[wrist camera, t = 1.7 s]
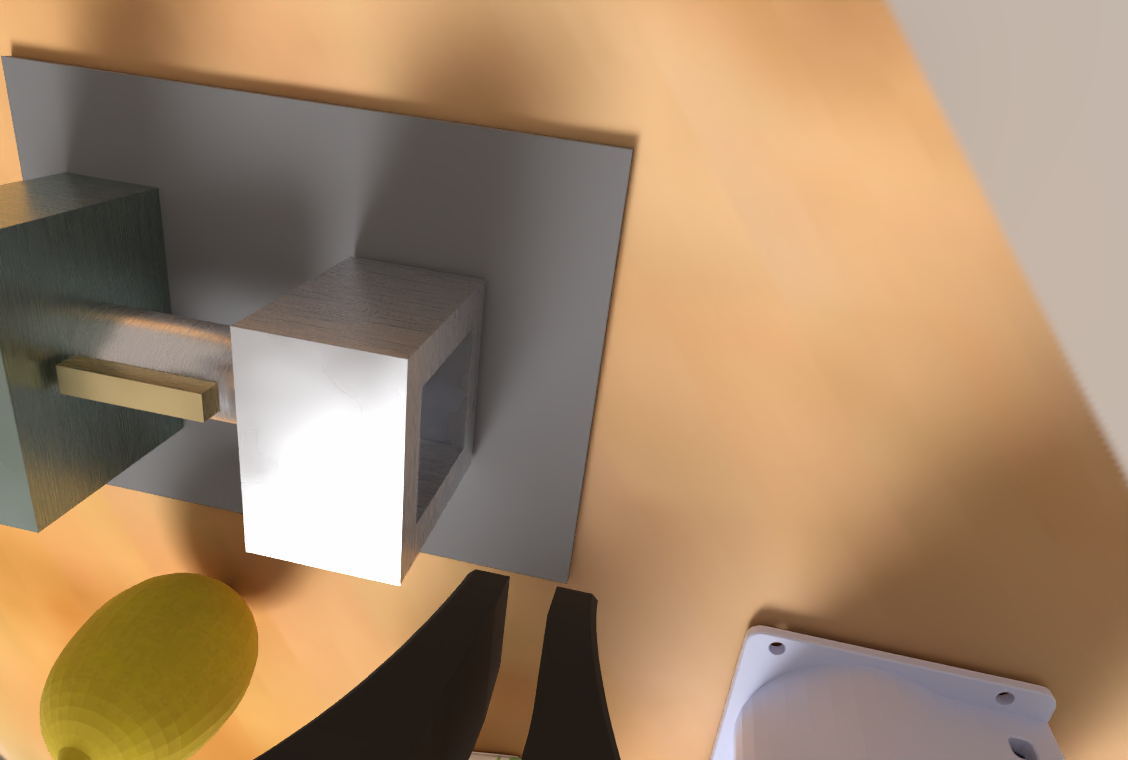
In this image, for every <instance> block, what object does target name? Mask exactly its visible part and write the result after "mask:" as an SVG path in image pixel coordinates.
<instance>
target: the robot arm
mask: <svg viewBox="0 0 1128 760" xmlns="http://www.w3.org/2000/svg"><path fill="white" fill-rule="evenodd" d="M509 579H510V577H509V576H504V575H500V574H495V573H490V572H485V571H481V570H474V571H472V572H470V573H469V574H468V575H467V576H466V578H465V579H464V580H463V581H462V583H461V584H460V585H459V586H458V587H457V588H456V590H455V591H454V592H453V593H452V594H451V595H450V597H449V598H448V599H447V600H446V601H445V602H444V603H443V604H442V606H441V607H440V608H439V609H438V610H437V611H436V612H435V613H434V614H433V615H432V616H431V617H430V618H429V619H428V621H427V622H426V623H425V624H424V625H423V626H421V627H420V628H419V629H418V630H417V631H416V632H415V633H414V634H413V635H412V636H411V637H410V638H409V639H408V640H407V641H406V642H405V643H404V644H403V645H402V646H401V647H400V648H399V649H398V650H397V651H396V652H395V653H394V654H393V655H392V656H391V657H389V658H388V659H387V660H386V661H385V662H384V663H383V664H382V665H380V666H379V667H378V668H377V669H376V670H375V671H374V672H373V673H371V674H370V675H369V676H368V677H367V678H366V679H365V680H363V681H362V682H361V683H360V684H359V685H358V686H356V687H355V688H354V689H353V690H351V691H350V692H349V693H348V694H347V695H345V696H344V697H343V698H341V699H340V700H339V701H338V702H336V703H335V704H334V705H332V706H331V707H330V708H328V709H327V710H326V711H324V712H323V713H322V714H320V715H319V716H318V717H316V718H315V719H314V720H312V721H311V722H310V723H308V724H307V725H305V726H304V727H302V728H301V729H299V730H298V731H296V732H295V733H293V734H292V735H290V736H289V737H288V738H286V739H285V740H283V741H282V742H280V743H279V744H277V745H276V746H274V747H273V748H271V749H270V750H268V751H266V752H265V753H263V754H262V755H260V756H258V757H257V758H255V759H254V760H469V758H470V756H471V753H472V751H473V748H474V746H475V743H476V741H477V738H478V736H479V733H480V731H481V728H482V725H483V723H484V720H485V717H486V713H487V710H488V706H489V703H490V699H491V696H492V692H493V689H494V685H495V681H496V678H497V674H498V671H499V667H500V662H501V652H502V643H503V634H504V625H505V615H506V606H507V597H508V588H509ZM597 602H598V601H597V599H596V598H595V597H594V595H593V594H590V593H585V592H581V591H576V590H571V589H566V588H562V587H557V588H556V591H555V594H554V597H553V600H552V603H551V606H550V609H549V612H548V615H547V622H546V629H545V635H544V642H543V649H542V656H541V663H540V670H539V676H538V683H537V690H536V697H535V704H534V710H533V715H532V720H531V725H530V730H529V734H528V737H527V741H526V745H525V748H524V752H523V755H522V759H521V760H621V759H620V756H619V752H618V748H617V745H616V741H615V737H614V733H613V729H612V725H611V721H610V717H609V712H608V708H607V703H606V698H605V692H604V687H603V681H602V676H601V670H600V663H599V656H598V646H597V633H596V610H597ZM774 642H780V643H782V645H780V646H773V645H771V643H774ZM1002 692H1008V693H1007V694H1005V695H998V694H1000V693H1002ZM1056 704H1057V703H1056V701H1055V698H1054V696H1053V694H1052V692H1051V691H1050V690H1049V689H1048V688H1046V687H1043V686H1041V685H1036V684H1031V683H1027V682H1022V681H1017V680H1013V679H1008V678H1004V677H999V676H994V675H990V674H985V673H980V672H976V671H971V670H967V669H962V668H957V667H953V666H948V665H944V664H939V663H934V662H930V661H925V660H920V659H916V658H911V657H907V656H902V655H897V654H893V653H888V652H884V651H879V650H874V649H870V648H865V647H860V646H856V645H851V644H847V643H842V642H837V641H833V640H828V639H824V638H819V637H814V636H810V635H805V634H800V633H796V632H791V631H787V630H782V629H777V628H773V627H768V626H762V625H757V626H753V627H751V628H750V629H748V630H747V632H746V634H745V637H744V640H743V644H742V647H741V651H740V654H739V658H738V661H737V665H736V668H735V672H734V675H733V679H732V682H731V686H730V689H729V693H728V696H727V700H726V703H725V707H724V710H723V714H722V717H721V721H720V724H719V728H718V732H717V735H716V739H715V742H714V746H713V749H712V753H711V756H710V760H1066V759H1065V757H1064V755H1063V753H1062V751H1061V749H1060V747H1059V745H1058V743H1057V741H1056V739H1055V737H1054V735H1053V733H1052V730H1051V728H1050V726H1049V724H1048V722H1049V720H1050V718H1051V716H1052V714H1053V712H1054V711H1055V709H1056Z"/></svg>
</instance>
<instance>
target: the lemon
mask: <svg viewBox="0 0 1128 760" xmlns="http://www.w3.org/2000/svg"><path fill="white" fill-rule="evenodd" d="M257 657H258V632H257V627H256V624H255V621H254V617H253V615H252V612H251V610H250V609H249V607H248V605H247V604H246V602H245V601H244V600H243V598H242V597H241V596H240V595H239V594H238V593H237V592H236V591H235V590H233V589H232V588H231V587H229V586H228V585H227V584H225V583H223V582H221V581H219V580H217V579H215V578H212V577H209V576H205V575H201V574H194V573H174V574H167V575H162V576H157V577H153V578H150V579H148V580H145V581H143V582H141V583H139V584H137V585H135V586H133V587H131V588H129V589H127V590H125V591H123V592H121V593H120V594H118V595H117V596H115V597H114V598H112V599H111V600H110V601H108V602H107V603H105V604H104V605H103V606H102V607H101V608H100V609H99V610H97V611H96V612H95V613H94V614H93V615H92V616H91V617H90V618H89V619H88V620H87V622H86V623H85V624H84V625H83V626H82V627H81V628H80V629H79V630H78V632H77V633H76V634H75V635H74V636H73V637H72V639H71V640H70V641H69V643H68V644H67V645H66V647H65V648H64V649H63V651H62V652H61V654H60V656H59V657H58V659H57V660H56V662H55V664H54V666H53V667H52V669H51V671H50V674H49V676H48V678H47V681H46V684H45V687H44V690H43V693H42V697H41V701H40V725H41V732H42V735H43V738H44V741H45V744H46V746H47V749H48V751H49V752H50V754H51V756H52V757H53V758H54V760H187V759H188V758H189V757H191V756H192V755H193V754H194V753H196V752H197V751H198V750H199V749H200V748H202V747H203V746H204V745H205V744H206V743H207V742H208V741H209V740H210V739H211V738H212V737H213V736H214V735H215V733H216V732H217V731H218V730H219V729H220V728H221V726H222V725H223V724H224V723H225V722H226V720H227V719H228V718H229V717H230V715H231V714H232V713H233V712H234V710H235V709H236V707H237V706H238V704H239V703H240V701H241V699H242V698H243V696H244V694H245V692H246V690H247V688H248V686H249V683H250V680H251V677H252V675H253V671H254V668H255V665H256V661H257Z"/></svg>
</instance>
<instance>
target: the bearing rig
mask: <svg viewBox="0 0 1128 760" xmlns="http://www.w3.org/2000/svg"><path fill="white" fill-rule="evenodd" d="M183 419H188V420H193V421H198V422H203V423H204V422H206V421H207V420H208V419H214V420H219V421H224V422H229V423H234V424H237V417H236V403H235V389H234V375H233V360H232V346H231V332H230V325H225V324H219V323H214V322H209V321H203V320H198V319H193V318H187V317H182V316H176V315H172V312H171V302H170V292H169V283H168V273H167V263H166V254H165V244H164V234H163V225H162V215H161V205H160V196H159V188H157V187H151V186H145V185H139V184H133V183H127V182H121V181H115V180H109V179H103V178H97V177H91V176H85V175H79V174H73V173H67V172H64V173H59V174H54V175H49V176H44V177H39V178H34V179H29V180H24V181H19V182H14V183H9V184H4V185H0V524H2V525H7V526H11V527H15V528H20V529H24V530H29V531H33V532H37V533H39V532H40V531H41V530H43V529H44V528H46V527H47V526H48V525H50V524H51V523H52V522H54V521H55V520H57V519H58V518H59V517H61V516H62V515H64V514H65V513H66V512H68V511H69V510H70V509H72V508H73V507H75V506H76V505H77V504H79V503H80V502H82V501H83V500H84V499H86V498H87V497H88V496H90V495H91V494H93V493H94V492H95V491H97V490H98V489H100V488H101V487H102V486H104V485H105V484H106V483H108V482H109V481H111V480H112V479H113V478H115V477H116V476H118V475H119V474H120V473H122V472H123V471H125V470H126V469H127V468H129V467H130V466H131V465H133V464H134V463H136V462H137V461H138V460H140V459H141V458H143V457H144V456H145V455H147V454H148V453H149V452H151V451H152V450H154V449H155V448H156V447H158V446H159V445H161V444H162V443H163V442H165V441H166V440H167V439H169V438H170V437H172V436H173V435H174V434H176V433H177V432H179V431H180V430H181V429H183V428H184V427H183Z"/></svg>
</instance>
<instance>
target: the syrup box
mask: <svg viewBox="0 0 1128 760" xmlns="http://www.w3.org/2000/svg"><path fill="white" fill-rule="evenodd" d="M469 760H521V759H520V757H518V756H511V755H502V754H492V753H482V752H473V751H472V753H471V756H470V758H469Z"/></svg>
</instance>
